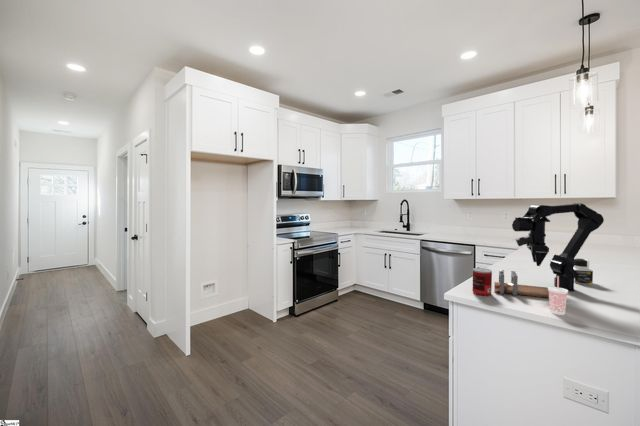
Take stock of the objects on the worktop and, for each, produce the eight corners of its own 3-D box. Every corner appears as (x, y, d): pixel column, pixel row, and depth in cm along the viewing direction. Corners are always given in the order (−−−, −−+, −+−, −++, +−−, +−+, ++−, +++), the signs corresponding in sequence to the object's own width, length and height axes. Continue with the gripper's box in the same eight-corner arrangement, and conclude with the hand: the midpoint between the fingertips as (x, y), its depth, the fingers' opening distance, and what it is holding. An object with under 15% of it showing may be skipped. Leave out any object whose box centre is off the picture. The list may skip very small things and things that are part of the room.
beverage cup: (543, 309, 116) (544, 274, 115) (559, 309, 116) (560, 274, 115) (554, 315, 110) (556, 278, 109) (571, 315, 110) (573, 278, 109)
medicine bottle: (574, 283, 150) (575, 260, 150) (569, 279, 157) (569, 257, 156) (592, 284, 148) (593, 261, 147) (586, 281, 154) (587, 258, 154)
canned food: (489, 291, 139) (489, 268, 138) (493, 297, 131) (493, 272, 131) (471, 290, 141) (471, 267, 141) (473, 295, 134) (474, 271, 133)
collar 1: (502, 288, 142) (503, 268, 142) (504, 294, 134) (505, 272, 133) (497, 288, 143) (498, 267, 143) (499, 294, 135) (499, 272, 134)
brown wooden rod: (548, 292, 132) (550, 285, 129) (550, 300, 128) (552, 293, 126) (494, 286, 141) (494, 279, 139) (494, 293, 138) (495, 287, 136)
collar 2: (514, 290, 140) (515, 271, 140) (517, 296, 131) (517, 276, 131) (510, 289, 141) (511, 271, 141) (513, 295, 132) (513, 276, 132)
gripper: (515, 228, 153) (514, 258, 154) (519, 232, 136) (518, 266, 137) (541, 229, 148) (540, 260, 148) (549, 233, 131) (548, 268, 132)
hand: (536, 263), depth 142 cm, fingers open, 9 cm apart
